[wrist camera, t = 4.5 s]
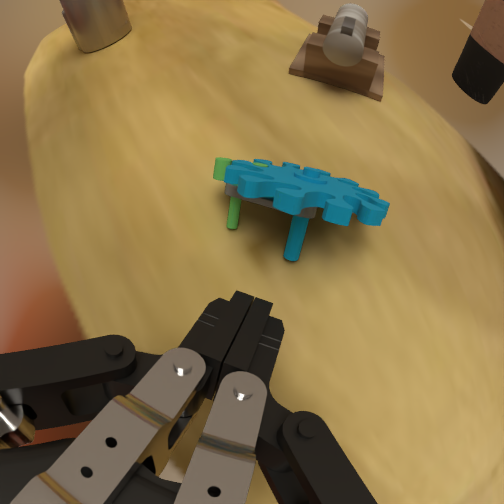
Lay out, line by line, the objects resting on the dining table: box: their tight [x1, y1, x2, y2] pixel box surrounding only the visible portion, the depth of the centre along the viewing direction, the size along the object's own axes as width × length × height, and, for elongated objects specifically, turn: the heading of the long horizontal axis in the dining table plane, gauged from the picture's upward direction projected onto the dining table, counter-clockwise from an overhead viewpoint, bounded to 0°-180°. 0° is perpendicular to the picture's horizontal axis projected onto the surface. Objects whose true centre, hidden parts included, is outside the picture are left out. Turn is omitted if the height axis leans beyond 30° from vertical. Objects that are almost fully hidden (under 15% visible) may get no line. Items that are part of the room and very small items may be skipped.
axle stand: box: [289, 4, 384, 101], centre depth 22 cm, size 12×10×8 cm
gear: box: [213, 158, 390, 261], centre depth 17 cm, size 11×6×10 cm
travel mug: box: [452, 0, 504, 104], centre depth 17 cm, size 8×8×20 cm
